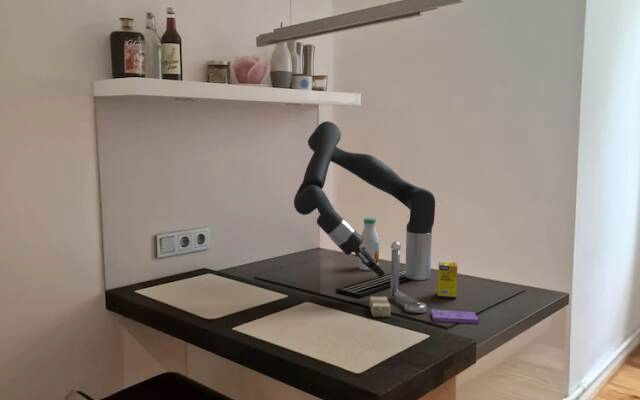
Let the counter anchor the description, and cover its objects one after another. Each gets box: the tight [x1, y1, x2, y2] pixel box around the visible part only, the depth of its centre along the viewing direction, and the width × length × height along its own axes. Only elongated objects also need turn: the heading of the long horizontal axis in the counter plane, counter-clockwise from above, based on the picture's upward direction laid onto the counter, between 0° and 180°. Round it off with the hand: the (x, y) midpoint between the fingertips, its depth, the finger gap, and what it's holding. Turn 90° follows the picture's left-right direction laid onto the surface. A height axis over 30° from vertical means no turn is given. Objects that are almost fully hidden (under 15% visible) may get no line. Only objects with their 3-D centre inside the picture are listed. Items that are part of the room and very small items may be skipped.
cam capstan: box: [389, 241, 427, 314], centre depth 171 cm, size 18×6×18 cm, turn 21°
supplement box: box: [436, 261, 458, 300], centre depth 182 cm, size 6×6×11 cm
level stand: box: [369, 296, 392, 318], centre depth 164 cm, size 11×5×3 cm, turn 1°
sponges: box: [430, 308, 480, 324], centre depth 160 cm, size 7×13×2 cm, turn 84°
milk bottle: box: [358, 217, 380, 271], centre depth 219 cm, size 8×8×20 cm
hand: (382, 275), depth 178 cm, fingers closed
